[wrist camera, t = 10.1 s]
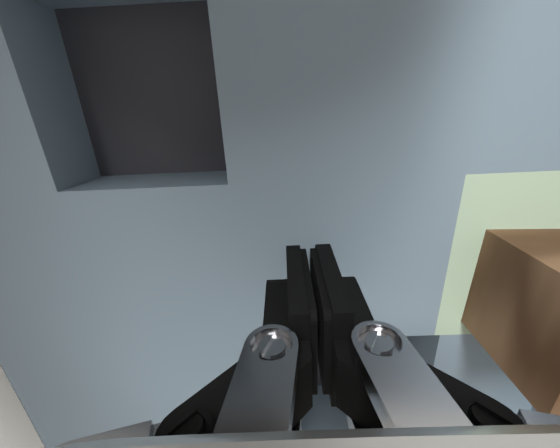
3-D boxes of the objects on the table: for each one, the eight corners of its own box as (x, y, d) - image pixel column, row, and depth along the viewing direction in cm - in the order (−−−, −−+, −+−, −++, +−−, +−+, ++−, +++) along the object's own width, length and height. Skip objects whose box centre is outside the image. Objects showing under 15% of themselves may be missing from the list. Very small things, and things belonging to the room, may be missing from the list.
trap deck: (-109, -37, 11) (-462, -170, 6) (662, -85, 10) (1053, -285, 5) (83, 407, 20) (13, 512, 15) (500, 396, 19) (580, 503, 14)
